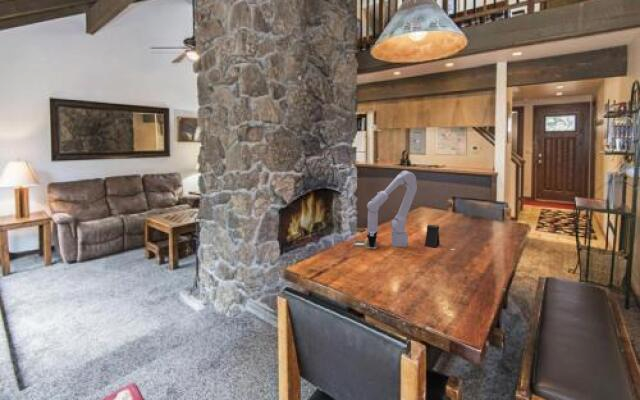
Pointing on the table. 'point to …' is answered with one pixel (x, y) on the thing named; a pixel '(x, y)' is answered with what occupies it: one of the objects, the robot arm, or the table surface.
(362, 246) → the door board
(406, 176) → the robot arm
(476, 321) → the table surface
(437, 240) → the phone stand
